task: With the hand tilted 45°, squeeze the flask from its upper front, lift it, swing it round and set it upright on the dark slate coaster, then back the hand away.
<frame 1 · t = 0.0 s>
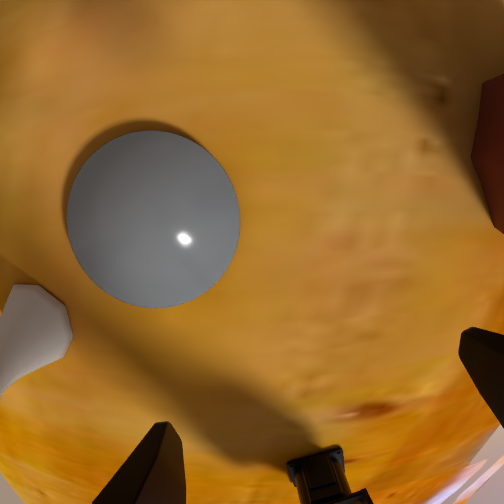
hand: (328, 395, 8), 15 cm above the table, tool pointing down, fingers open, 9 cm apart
flask: (40, 319, 22), on the table
slate coaster: (150, 221, 21), on the table
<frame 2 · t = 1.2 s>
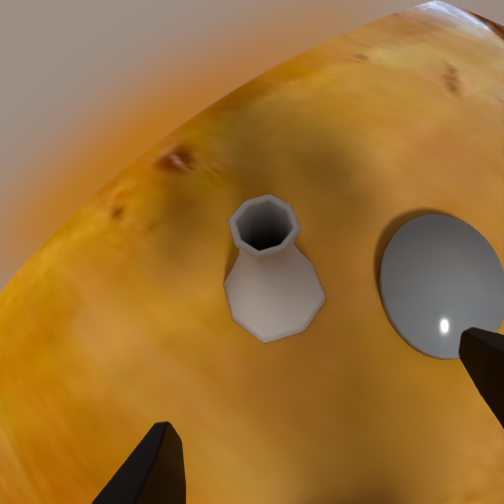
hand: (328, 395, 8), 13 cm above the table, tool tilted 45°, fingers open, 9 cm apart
flask: (274, 294, 23), on the table
slate coaster: (446, 285, 22), on the table
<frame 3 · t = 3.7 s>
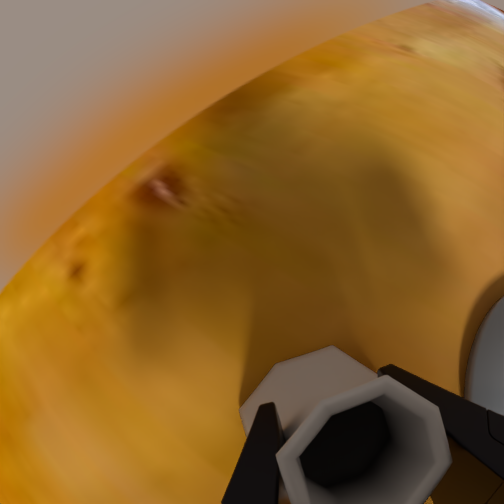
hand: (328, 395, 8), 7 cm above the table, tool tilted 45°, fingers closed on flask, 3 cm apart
flask: (318, 421, 13), on the table, touching gripper
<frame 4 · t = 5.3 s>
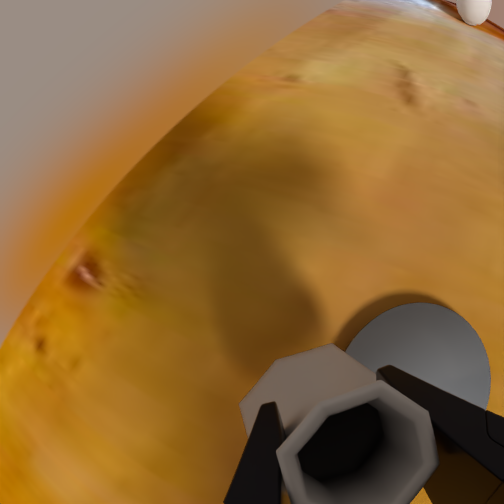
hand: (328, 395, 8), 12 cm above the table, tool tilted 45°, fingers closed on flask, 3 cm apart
flask: (316, 417, 14), point 5 cm above the table, touching gripper
slate coaster: (416, 390, 18), on the table
sauce bottle: (468, 24, 41), on the table
when the fingers open (9 cm above the table, at t = 6.9 s): flask stays where it is, resting on slate coaster.
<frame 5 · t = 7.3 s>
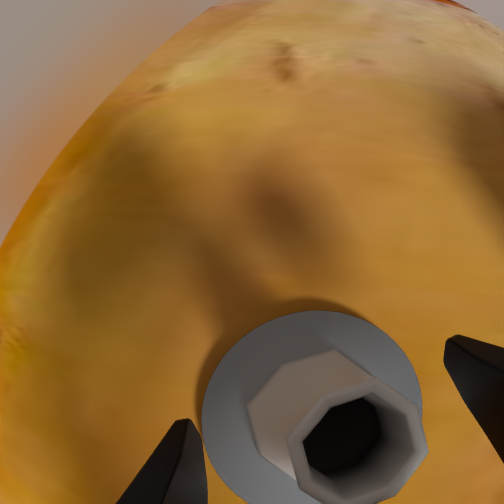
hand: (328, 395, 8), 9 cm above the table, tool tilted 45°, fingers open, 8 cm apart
flask: (318, 418, 15), point 1 cm above the table, touching slate coaster
slate coaster: (314, 418, 15), on the table
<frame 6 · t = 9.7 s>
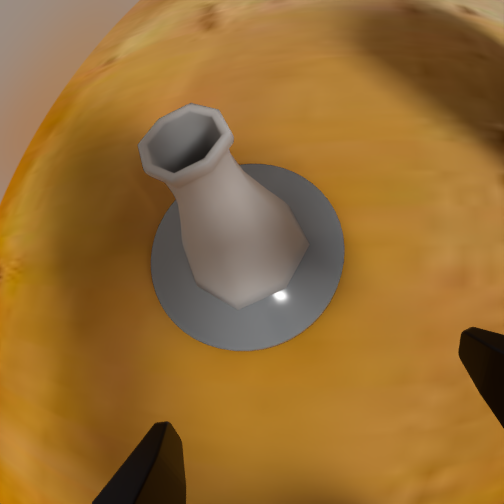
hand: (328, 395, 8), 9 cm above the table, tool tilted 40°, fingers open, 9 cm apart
flask: (245, 247, 19), point 1 cm above the table, touching slate coaster
slate coaster: (245, 253, 20), on the table
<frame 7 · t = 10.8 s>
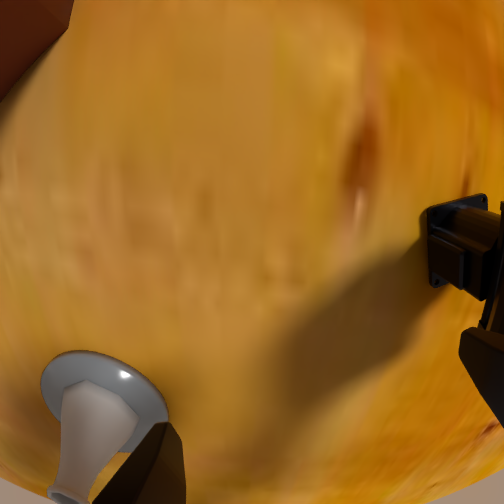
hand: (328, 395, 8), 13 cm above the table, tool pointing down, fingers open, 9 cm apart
flask: (99, 409, 22), point 1 cm above the table, touching slate coaster
slate coaster: (103, 404, 23), on the table
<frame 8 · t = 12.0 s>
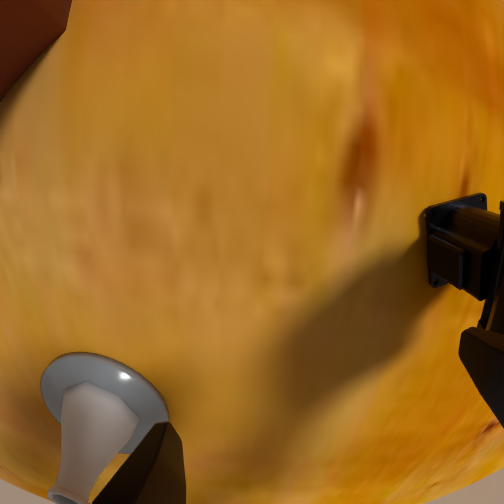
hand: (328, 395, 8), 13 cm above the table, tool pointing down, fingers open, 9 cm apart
flask: (100, 410, 22), point 1 cm above the table, touching slate coaster
slate coaster: (103, 405, 23), on the table
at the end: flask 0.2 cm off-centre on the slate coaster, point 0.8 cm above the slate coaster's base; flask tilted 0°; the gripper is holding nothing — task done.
